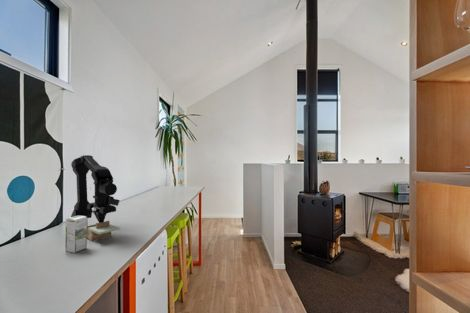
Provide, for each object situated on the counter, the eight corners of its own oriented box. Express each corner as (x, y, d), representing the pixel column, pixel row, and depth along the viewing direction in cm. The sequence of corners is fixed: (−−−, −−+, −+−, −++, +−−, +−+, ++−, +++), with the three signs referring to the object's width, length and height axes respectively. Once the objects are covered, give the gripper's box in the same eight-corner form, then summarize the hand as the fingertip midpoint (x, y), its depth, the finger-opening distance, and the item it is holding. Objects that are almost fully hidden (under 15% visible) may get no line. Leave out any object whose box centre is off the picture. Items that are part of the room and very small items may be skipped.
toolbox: (82, 236, 122) (82, 227, 122) (100, 232, 130) (100, 223, 130) (92, 241, 115) (92, 231, 115) (111, 236, 122) (111, 227, 122)
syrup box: (77, 246, 108) (77, 215, 108) (87, 248, 107) (87, 216, 107) (65, 251, 103) (65, 218, 103) (75, 253, 101) (74, 219, 101)
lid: (88, 229, 118) (88, 222, 118) (107, 225, 125) (107, 218, 125) (99, 234, 110) (99, 227, 110) (119, 229, 118) (119, 222, 118)
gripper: (126, 193, 120) (126, 224, 120) (108, 190, 131) (108, 218, 131) (103, 196, 111) (103, 229, 111) (86, 192, 122) (86, 222, 122)
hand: (101, 224), depth 119 cm, fingers closed
